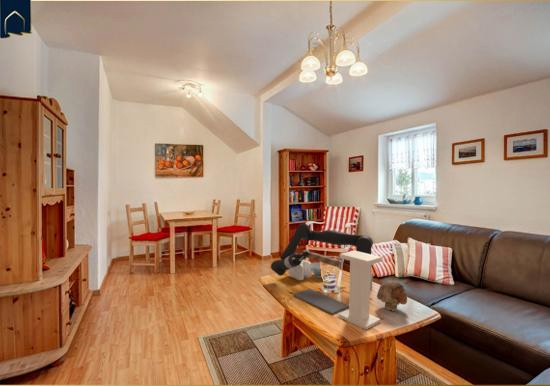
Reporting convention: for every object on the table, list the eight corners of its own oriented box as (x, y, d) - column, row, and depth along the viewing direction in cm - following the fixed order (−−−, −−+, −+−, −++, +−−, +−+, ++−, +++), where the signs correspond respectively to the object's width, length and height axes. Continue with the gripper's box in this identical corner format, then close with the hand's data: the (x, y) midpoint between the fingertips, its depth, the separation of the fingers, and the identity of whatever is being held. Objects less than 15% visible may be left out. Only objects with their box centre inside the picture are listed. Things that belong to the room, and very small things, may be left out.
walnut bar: (301, 255, 169) (301, 250, 168) (305, 254, 170) (305, 250, 170) (335, 266, 148) (335, 260, 148) (339, 265, 150) (339, 259, 150)
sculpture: (399, 319, 140) (400, 289, 139) (370, 308, 152) (371, 280, 151) (413, 310, 149) (414, 282, 149) (385, 300, 161) (386, 275, 161)
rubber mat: (293, 295, 167) (293, 294, 167) (309, 290, 176) (309, 288, 176) (332, 314, 143) (332, 312, 143) (349, 307, 152) (349, 305, 152)
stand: (338, 316, 142) (339, 253, 140) (352, 310, 149) (354, 250, 148) (366, 329, 129) (367, 261, 128) (380, 322, 137) (382, 257, 135)
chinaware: (305, 275, 202) (305, 265, 202) (317, 271, 213) (318, 261, 213) (322, 281, 192) (322, 270, 191) (334, 276, 202) (335, 265, 202)
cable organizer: (312, 279, 196) (312, 262, 195) (301, 282, 190) (301, 265, 189) (298, 273, 208) (298, 257, 207) (287, 276, 202) (287, 260, 201)
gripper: (282, 256, 174) (299, 247, 162) (299, 253, 183) (316, 244, 171) (286, 268, 171) (303, 260, 159) (302, 264, 180) (320, 256, 168)
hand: (310, 252), depth 165 cm, fingers closed on walnut bar, 3 cm apart
